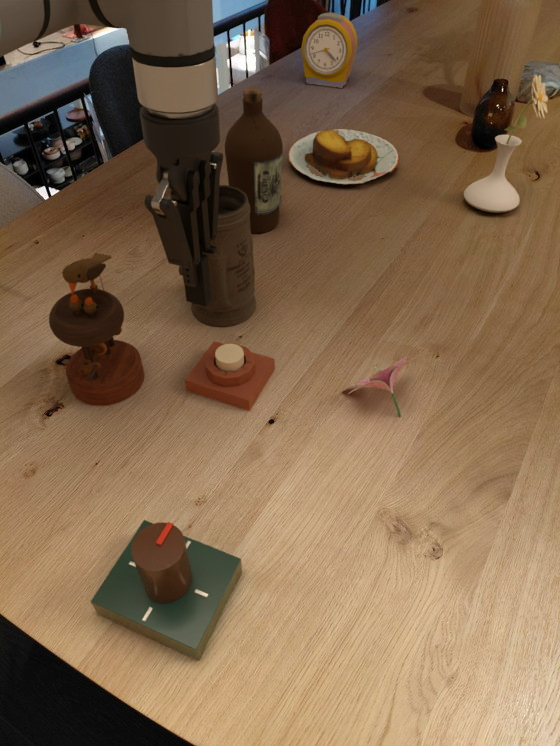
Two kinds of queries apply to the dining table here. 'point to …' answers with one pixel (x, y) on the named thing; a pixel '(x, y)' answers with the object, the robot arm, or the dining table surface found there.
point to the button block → (230, 378)
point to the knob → (162, 562)
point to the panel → (178, 618)
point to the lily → (385, 378)
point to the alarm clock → (329, 48)
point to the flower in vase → (505, 163)
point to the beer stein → (230, 264)
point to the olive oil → (256, 162)
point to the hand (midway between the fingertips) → (198, 300)
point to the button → (229, 357)
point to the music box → (95, 338)
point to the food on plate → (343, 156)
